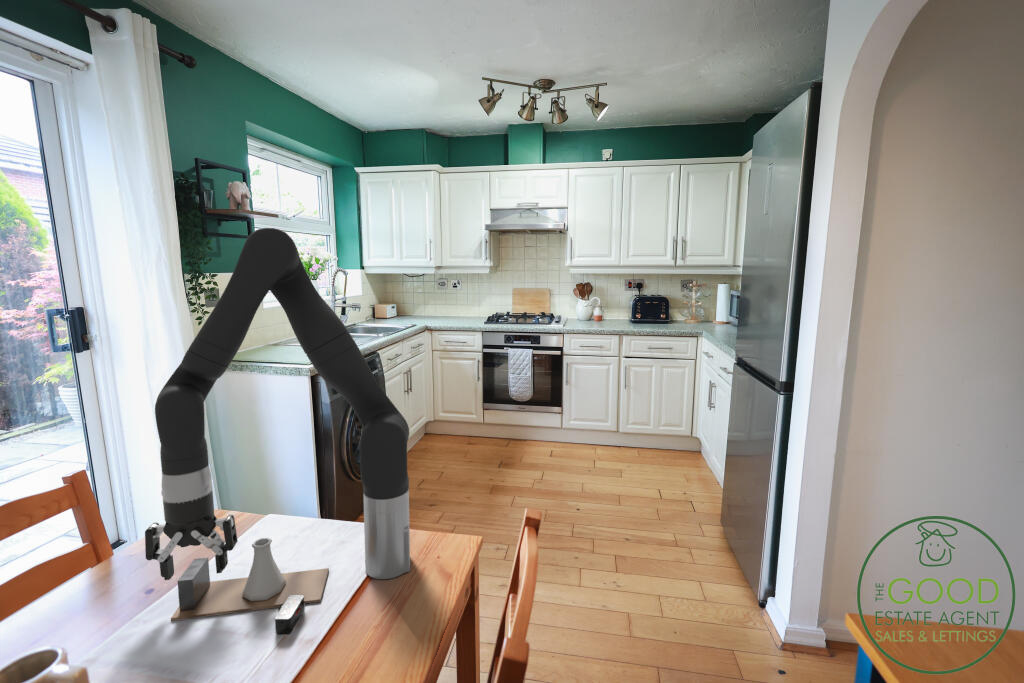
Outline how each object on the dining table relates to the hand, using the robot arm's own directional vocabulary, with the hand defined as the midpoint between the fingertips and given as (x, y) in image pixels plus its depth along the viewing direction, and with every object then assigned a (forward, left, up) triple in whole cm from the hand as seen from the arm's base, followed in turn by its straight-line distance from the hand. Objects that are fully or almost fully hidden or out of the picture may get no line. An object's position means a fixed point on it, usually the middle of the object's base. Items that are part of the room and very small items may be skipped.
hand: (195, 574), depth 88 cm
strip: (-10, 0, -6) cm, 12 cm away
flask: (-12, 0, -5) cm, 13 cm away
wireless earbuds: (-18, +8, -6) cm, 21 cm away
